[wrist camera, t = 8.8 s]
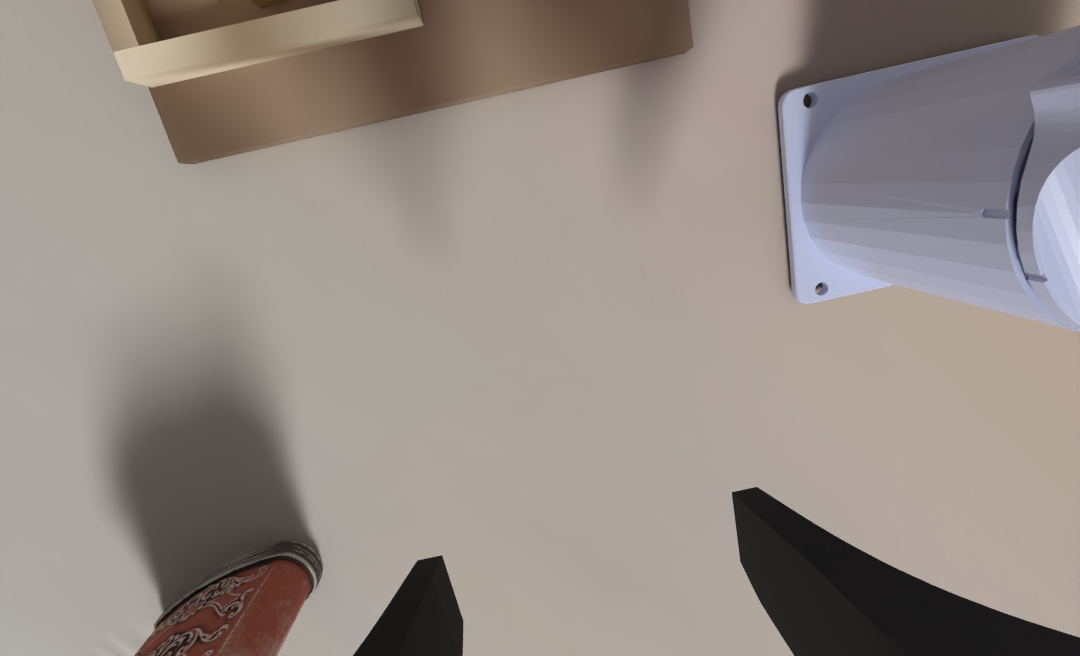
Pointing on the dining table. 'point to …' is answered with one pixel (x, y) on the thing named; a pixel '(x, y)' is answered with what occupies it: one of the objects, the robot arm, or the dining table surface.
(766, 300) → the dining table surface
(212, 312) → the dining table surface
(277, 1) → the brass gear
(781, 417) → the dining table surface
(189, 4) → the gear board
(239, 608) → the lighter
